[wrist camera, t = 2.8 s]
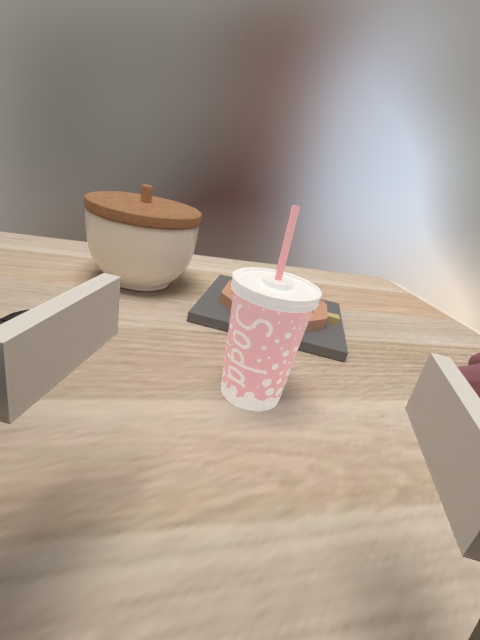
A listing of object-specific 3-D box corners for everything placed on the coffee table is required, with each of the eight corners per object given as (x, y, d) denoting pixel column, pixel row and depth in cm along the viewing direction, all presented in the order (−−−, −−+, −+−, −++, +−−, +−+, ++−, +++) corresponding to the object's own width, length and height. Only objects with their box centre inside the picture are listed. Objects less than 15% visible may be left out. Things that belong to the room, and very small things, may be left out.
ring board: (186, 321, 37) (189, 301, 36) (219, 281, 50) (221, 266, 49) (344, 362, 36) (351, 342, 35) (336, 310, 49) (341, 295, 48)
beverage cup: (196, 377, 29) (227, 190, 23) (257, 364, 32) (298, 199, 27) (240, 428, 24) (293, 214, 19) (305, 406, 28) (366, 221, 22)
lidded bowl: (210, 286, 48) (225, 198, 43) (141, 311, 37) (152, 199, 33) (137, 257, 52) (144, 175, 48) (58, 273, 42) (57, 170, 38)
